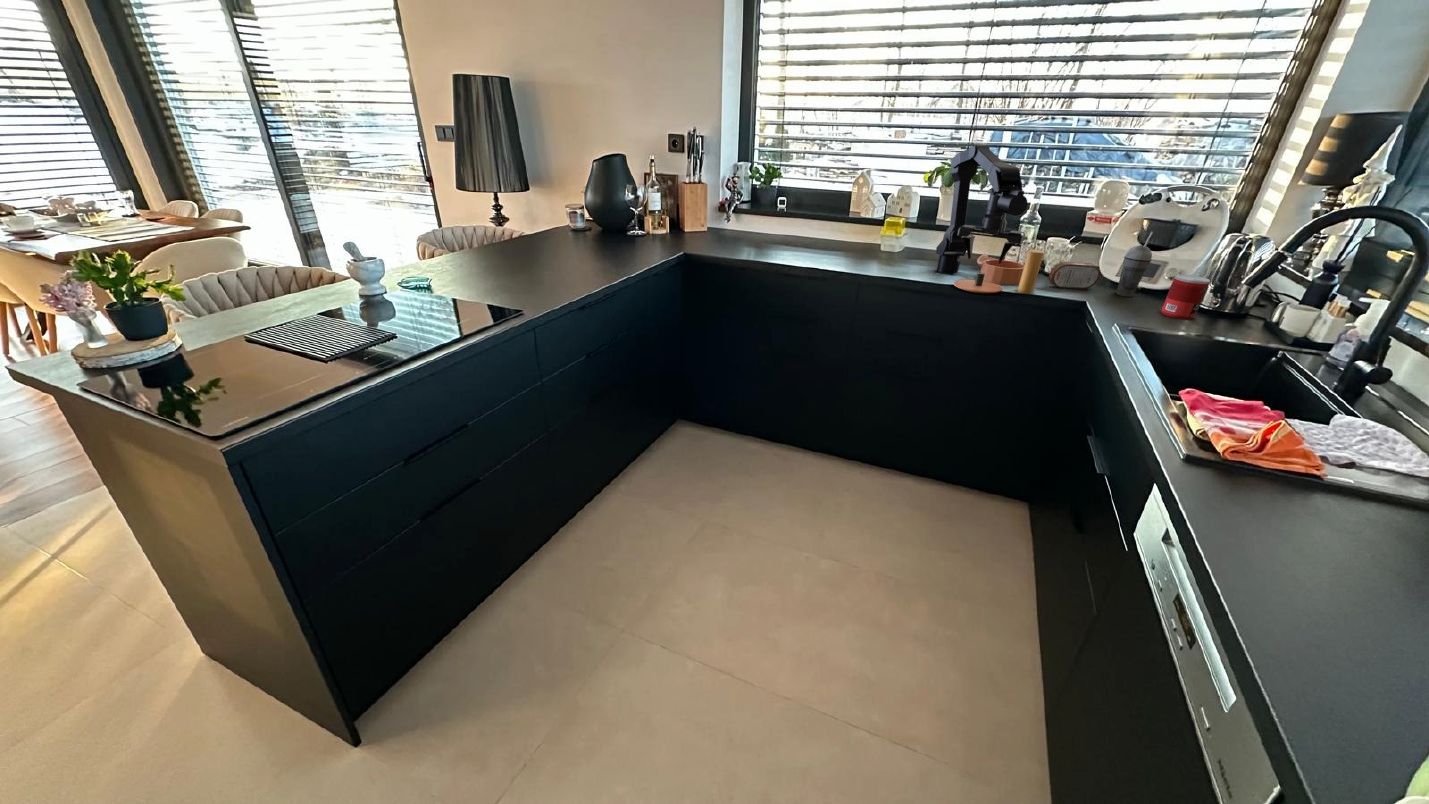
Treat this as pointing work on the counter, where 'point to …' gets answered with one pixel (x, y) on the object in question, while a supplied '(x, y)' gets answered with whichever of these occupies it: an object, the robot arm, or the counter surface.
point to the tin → (1074, 275)
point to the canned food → (1185, 296)
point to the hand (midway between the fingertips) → (984, 261)
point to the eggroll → (1030, 271)
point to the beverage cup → (1134, 269)
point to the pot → (1002, 272)
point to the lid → (978, 285)
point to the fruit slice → (984, 257)
